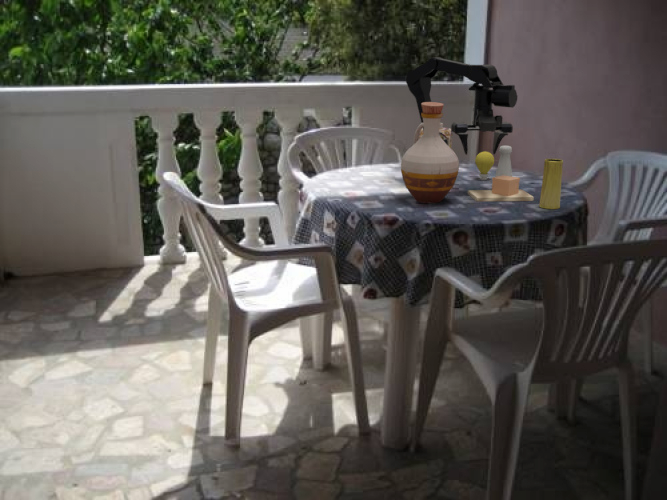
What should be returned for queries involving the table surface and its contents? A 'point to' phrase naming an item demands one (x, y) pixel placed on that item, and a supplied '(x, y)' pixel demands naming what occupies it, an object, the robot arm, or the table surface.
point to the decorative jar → (442, 134)
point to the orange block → (505, 185)
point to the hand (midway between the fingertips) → (480, 154)
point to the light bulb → (484, 164)
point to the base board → (498, 196)
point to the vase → (551, 184)
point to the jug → (429, 160)
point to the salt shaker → (504, 162)
